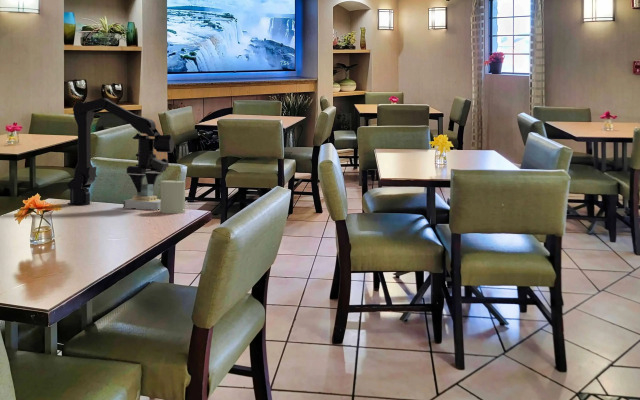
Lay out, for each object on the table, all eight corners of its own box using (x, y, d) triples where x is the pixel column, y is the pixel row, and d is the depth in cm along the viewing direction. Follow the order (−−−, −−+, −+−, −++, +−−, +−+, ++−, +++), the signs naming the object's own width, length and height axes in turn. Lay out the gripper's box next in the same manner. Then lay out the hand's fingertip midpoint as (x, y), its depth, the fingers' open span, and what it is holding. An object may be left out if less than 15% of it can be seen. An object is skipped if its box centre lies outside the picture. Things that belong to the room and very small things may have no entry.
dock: (123, 207, 228) (123, 199, 228) (138, 205, 239) (138, 197, 239) (157, 210, 225) (157, 202, 225) (170, 207, 236) (170, 199, 236)
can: (188, 211, 227) (189, 180, 225) (180, 214, 217) (181, 181, 216) (165, 210, 227) (165, 178, 226) (156, 212, 218) (156, 180, 217)
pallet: (132, 199, 230) (133, 184, 229) (140, 198, 236) (140, 183, 235) (149, 200, 228) (149, 185, 228) (156, 199, 234) (157, 184, 234)
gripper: (153, 152, 219) (152, 194, 221) (175, 152, 238) (175, 191, 239) (126, 151, 222) (125, 192, 223) (150, 151, 240) (149, 189, 241)
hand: (145, 191), depth 232 cm, fingers open, 9 cm apart
